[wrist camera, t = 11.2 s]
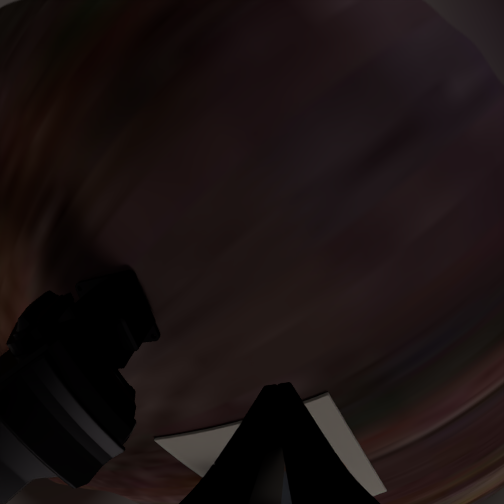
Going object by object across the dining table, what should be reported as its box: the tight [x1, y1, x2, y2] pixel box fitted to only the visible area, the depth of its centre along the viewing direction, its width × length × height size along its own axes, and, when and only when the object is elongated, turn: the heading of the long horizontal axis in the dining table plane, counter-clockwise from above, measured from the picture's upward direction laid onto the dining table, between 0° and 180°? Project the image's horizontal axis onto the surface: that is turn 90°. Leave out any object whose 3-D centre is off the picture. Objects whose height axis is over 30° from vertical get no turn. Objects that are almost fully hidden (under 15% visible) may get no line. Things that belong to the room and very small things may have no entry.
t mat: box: [154, 392, 387, 496], centre depth 31 cm, size 34×22×1 cm, turn 29°
